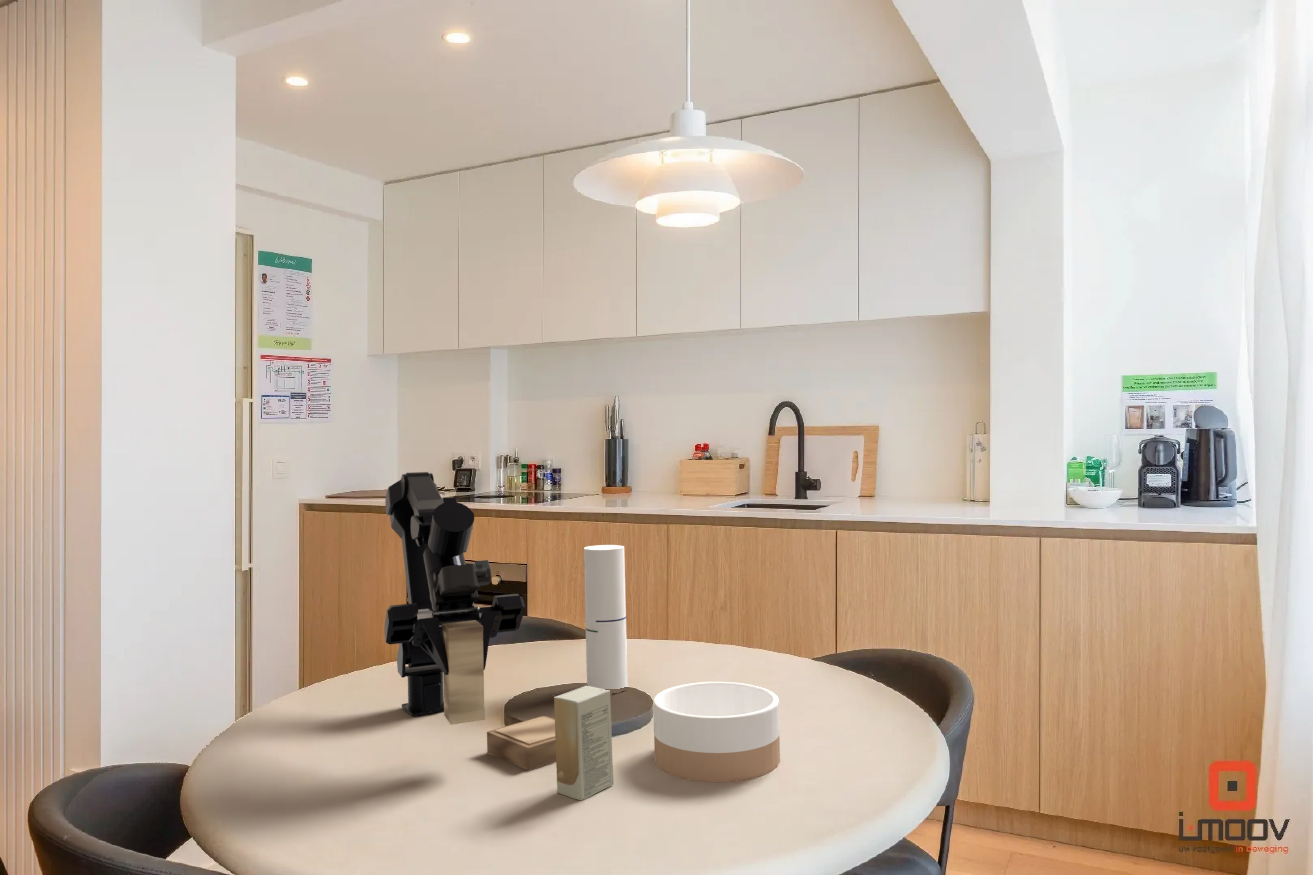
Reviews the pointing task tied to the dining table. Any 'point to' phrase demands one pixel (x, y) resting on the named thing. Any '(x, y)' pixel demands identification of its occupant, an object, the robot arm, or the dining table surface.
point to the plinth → (525, 743)
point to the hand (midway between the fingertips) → (465, 670)
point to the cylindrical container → (605, 616)
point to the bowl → (716, 731)
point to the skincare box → (583, 742)
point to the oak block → (464, 672)
